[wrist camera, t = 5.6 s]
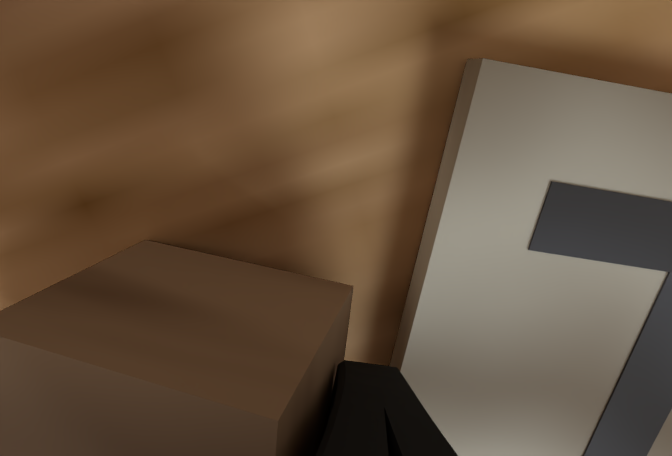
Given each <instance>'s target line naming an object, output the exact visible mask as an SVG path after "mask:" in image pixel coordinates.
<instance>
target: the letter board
mask: <svg viewBox="0 0 672 456" xmlns="http://www.w3.org/2000/svg"><path fill="white" fill-rule="evenodd" d="M390 367H397V368H398V369H399V371H400V372H401V373H402V375H403V376H404V378H405V379H406V381H407V382H408V384H409V385H410V387H411V389H412V390H413V392H414V393H415V395H416V396H417V398H418V399H419V401H420V402H421V404H422V405H423V407H424V408H425V410H426V411H427V413H428V414H429V416H430V417H431V418H432V420H433V421H434V423H435V424H436V426H437V427H438V429H439V430H440V431H441V433H442V434H443V436H444V437H445V438H446V440H447V441H448V442H449V444H450V445H451V447H452V448H453V449H454V451H455V452H456V453H457V455H458V456H672V94H671V93H666V92H660V91H655V90H650V89H644V88H639V87H634V86H628V85H623V84H618V83H612V82H607V81H602V80H596V79H591V78H586V77H580V76H575V75H570V74H564V73H559V72H554V71H548V70H543V69H538V68H532V67H527V66H522V65H516V64H511V63H506V62H500V61H495V60H490V59H484V58H479V59H467V62H466V66H465V70H464V74H463V78H462V82H461V86H460V90H459V94H458V97H457V101H456V105H455V109H454V113H453V117H452V121H451V125H450V129H449V133H448V137H447V141H446V145H445V149H444V153H443V157H442V161H441V165H440V169H439V173H438V177H437V180H436V184H435V188H434V192H433V196H432V200H431V204H430V208H429V212H428V216H427V220H426V224H425V228H424V232H423V236H422V240H421V244H420V248H419V252H418V256H417V260H416V264H415V267H414V271H413V275H412V279H411V283H410V287H409V291H408V295H407V299H406V303H405V307H404V311H403V315H402V319H401V323H400V327H399V331H398V335H397V339H396V343H395V347H394V350H393V354H392V358H391V362H390Z"/></svg>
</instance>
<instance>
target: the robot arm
mask: <svg viewBox="0 0 672 456" xmlns="http://www.w3.org/2000/svg"><path fill="white" fill-rule="evenodd" d="M315 456H458V455H457V453H456V452H455V451H454V449H453V448H452V447H451V445H450V444H449V442H448V441H447V440H446V438H445V437H444V436H443V434H442V433H441V431H440V430H439V429H438V427H437V426H436V424H435V423H434V421H433V420H432V418H431V417H430V416H429V414H428V413H427V411H426V410H425V408H424V407H423V405H422V404H421V402H420V401H419V399H418V398H417V396H416V395H415V393H414V392H413V390H412V389H411V387H410V385H409V384H408V382H407V381H406V379H405V378H404V376H403V375H402V373H401V372H400V371H399V369H398V368H397V367H390V366H383V365H376V364H368V363H361V362H353V361H346V360H344V361H342V362H341V363H339V364H338V366H337V371H336V376H335V380H334V385H333V390H332V395H331V401H330V407H329V413H328V418H327V424H326V430H325V433H324V435H323V438H322V441H321V443H320V445H319V448H318V450H317V453H316V455H315Z"/></svg>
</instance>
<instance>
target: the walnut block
mask: <svg viewBox="0 0 672 456" xmlns="http://www.w3.org/2000/svg"><path fill="white" fill-rule="evenodd" d="M352 294H353V286H351V285H346V284H342V283H337V282H333V281H328V280H324V279H319V278H315V277H310V276H306V275H301V274H297V273H292V272H288V271H283V270H279V269H274V268H270V267H265V266H261V265H256V264H252V263H247V262H243V261H238V260H234V259H229V258H225V257H220V256H216V255H211V254H207V253H202V252H197V251H193V250H188V249H184V248H179V247H175V246H170V245H166V244H161V243H157V242H152V241H148V240H144V241H142V242H140V243H138V244H136V245H134V246H132V247H130V248H128V249H126V250H124V251H122V252H120V253H118V254H115V255H113V256H111V257H109V258H107V259H105V260H103V261H101V262H99V263H97V264H95V265H93V266H91V267H89V268H87V269H85V270H83V271H81V272H79V273H77V274H75V275H73V276H71V277H69V278H67V279H65V280H62V281H60V282H58V283H56V284H54V285H52V286H50V287H48V288H46V289H44V290H42V291H40V292H38V293H36V294H34V295H32V296H30V297H28V298H26V299H24V300H22V301H20V302H18V303H16V304H14V305H12V306H9V307H7V308H5V309H3V310H1V311H0V456H315V455H316V453H317V450H318V448H319V445H320V443H321V441H322V438H323V435H324V433H325V430H326V424H327V418H328V413H329V407H330V401H331V395H332V390H333V385H334V380H335V376H336V371H337V366H338V364H339V363H341V362H342V361H344V355H345V348H346V340H347V332H348V325H349V317H350V309H351V301H352Z"/></svg>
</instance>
